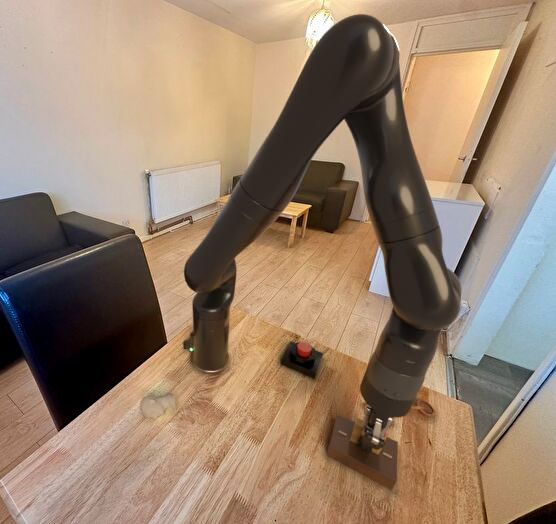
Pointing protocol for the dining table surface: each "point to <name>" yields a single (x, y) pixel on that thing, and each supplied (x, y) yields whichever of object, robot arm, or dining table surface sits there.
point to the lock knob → (357, 434)
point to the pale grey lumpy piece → (156, 405)
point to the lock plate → (363, 454)
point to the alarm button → (303, 349)
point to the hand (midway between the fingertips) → (364, 442)
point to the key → (420, 408)
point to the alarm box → (301, 360)
